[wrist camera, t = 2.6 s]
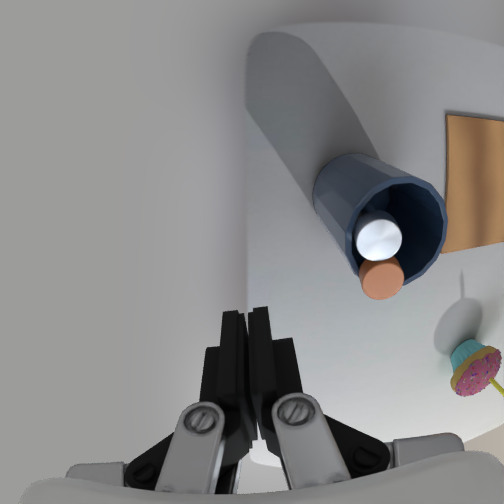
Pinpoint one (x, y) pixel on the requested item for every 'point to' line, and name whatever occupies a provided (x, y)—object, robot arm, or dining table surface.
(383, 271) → the tan cylinder
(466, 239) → the placemat
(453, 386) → the cupcake
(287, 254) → the dining table surface
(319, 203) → the cup
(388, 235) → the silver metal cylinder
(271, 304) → the dining table surface
